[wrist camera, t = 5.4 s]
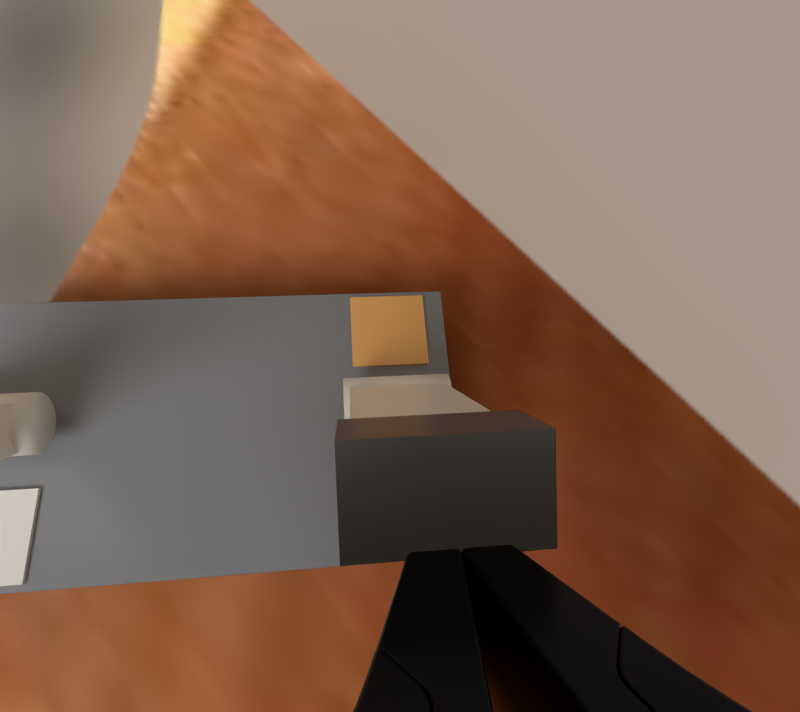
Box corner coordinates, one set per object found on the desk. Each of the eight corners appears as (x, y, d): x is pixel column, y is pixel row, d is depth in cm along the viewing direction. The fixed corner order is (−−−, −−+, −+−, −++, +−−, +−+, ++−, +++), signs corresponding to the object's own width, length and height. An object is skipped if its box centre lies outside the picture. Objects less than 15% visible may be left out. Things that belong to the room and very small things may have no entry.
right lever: (443, 425, 16) (557, 548, 7) (346, 430, 16) (340, 565, 7) (441, 370, 16) (555, 428, 7) (343, 375, 16) (334, 440, 7)
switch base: (457, 553, 17) (470, 555, 15) (-50, 594, 15) (-110, 603, 13) (432, 314, 20) (440, 289, 18) (8, 328, 18) (-34, 303, 16)
